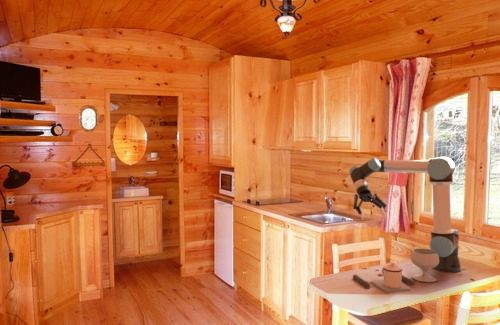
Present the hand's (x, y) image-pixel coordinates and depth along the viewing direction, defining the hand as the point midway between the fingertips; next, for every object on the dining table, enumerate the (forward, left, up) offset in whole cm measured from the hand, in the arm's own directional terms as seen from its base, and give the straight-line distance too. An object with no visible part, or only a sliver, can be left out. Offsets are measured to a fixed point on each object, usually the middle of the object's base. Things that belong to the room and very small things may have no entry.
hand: (374, 218), depth 234 cm
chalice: (-27, -2, -30) cm, 40 cm away
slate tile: (-17, +21, -30) cm, 40 cm away
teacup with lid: (-17, +21, -29) cm, 40 cm away
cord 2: (-19, +7, -30) cm, 36 cm away
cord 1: (-3, +25, -30) cm, 39 cm away
